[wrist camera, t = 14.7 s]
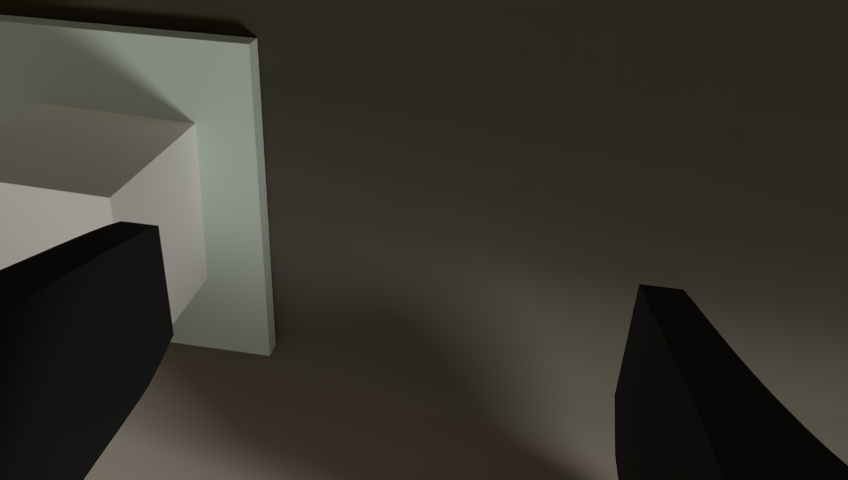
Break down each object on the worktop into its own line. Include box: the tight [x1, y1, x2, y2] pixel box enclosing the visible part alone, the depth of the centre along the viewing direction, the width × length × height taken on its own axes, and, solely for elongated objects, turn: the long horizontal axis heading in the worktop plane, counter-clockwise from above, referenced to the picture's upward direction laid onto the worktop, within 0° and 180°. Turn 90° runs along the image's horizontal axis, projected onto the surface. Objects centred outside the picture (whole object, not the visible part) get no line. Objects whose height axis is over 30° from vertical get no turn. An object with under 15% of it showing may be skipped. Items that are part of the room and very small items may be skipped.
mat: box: [0, 15, 276, 356], centre depth 23 cm, size 10×8×1 cm
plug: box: [0, 103, 208, 325], centre depth 21 cm, size 7×4×5 cm, turn 176°
